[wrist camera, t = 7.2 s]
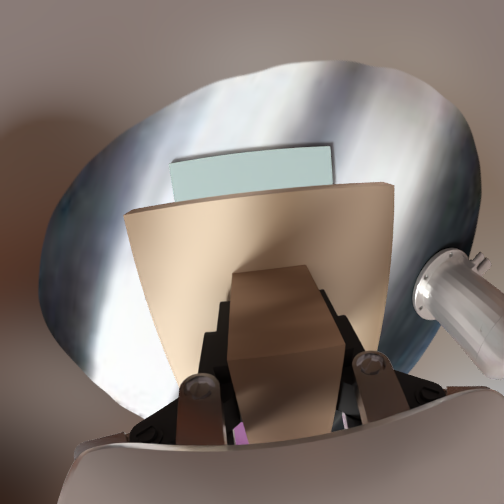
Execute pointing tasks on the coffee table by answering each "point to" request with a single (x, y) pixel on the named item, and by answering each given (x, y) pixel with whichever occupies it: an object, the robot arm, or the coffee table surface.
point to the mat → (251, 172)
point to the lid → (269, 291)
